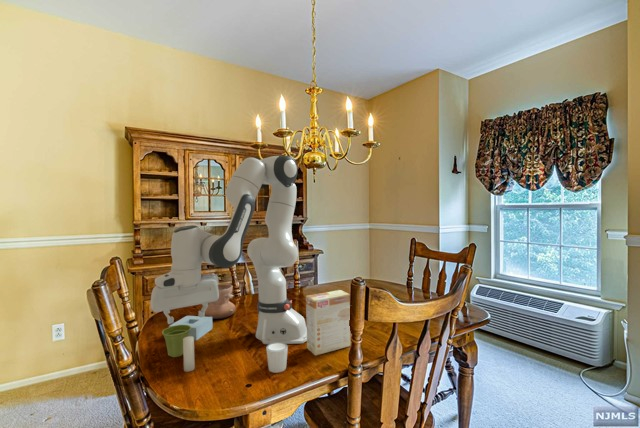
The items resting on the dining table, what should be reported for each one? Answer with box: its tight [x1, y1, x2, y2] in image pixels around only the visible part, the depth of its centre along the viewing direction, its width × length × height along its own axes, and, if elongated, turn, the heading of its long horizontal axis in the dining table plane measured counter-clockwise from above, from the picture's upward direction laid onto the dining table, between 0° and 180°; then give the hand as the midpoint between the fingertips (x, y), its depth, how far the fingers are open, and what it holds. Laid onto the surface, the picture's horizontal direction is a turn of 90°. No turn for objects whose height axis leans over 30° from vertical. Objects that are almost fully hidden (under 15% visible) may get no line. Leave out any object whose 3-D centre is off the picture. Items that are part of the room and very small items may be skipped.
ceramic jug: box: [204, 283, 237, 320], centre depth 150 cm, size 18×14×14 cm
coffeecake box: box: [305, 289, 352, 356], centre depth 115 cm, size 15×7×20 cm, turn 118°
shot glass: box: [266, 342, 289, 374], centre depth 101 cm, size 7×7×7 cm
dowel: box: [182, 336, 196, 372], centre depth 101 cm, size 3×3×10 cm
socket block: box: [168, 315, 214, 341], centre depth 129 cm, size 12×12×5 cm
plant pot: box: [161, 325, 191, 358], centre depth 112 cm, size 9×9×9 cm
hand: (186, 319), depth 100 cm, fingers open, 8 cm apart
